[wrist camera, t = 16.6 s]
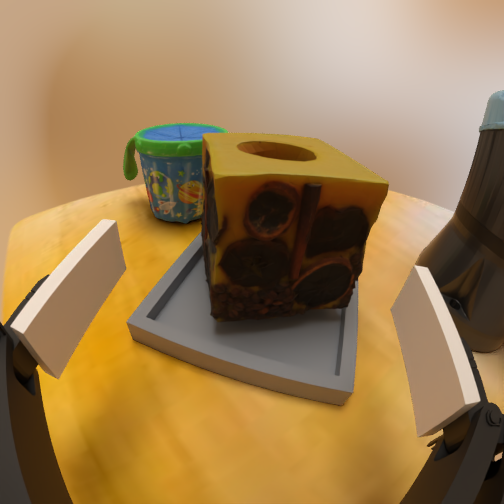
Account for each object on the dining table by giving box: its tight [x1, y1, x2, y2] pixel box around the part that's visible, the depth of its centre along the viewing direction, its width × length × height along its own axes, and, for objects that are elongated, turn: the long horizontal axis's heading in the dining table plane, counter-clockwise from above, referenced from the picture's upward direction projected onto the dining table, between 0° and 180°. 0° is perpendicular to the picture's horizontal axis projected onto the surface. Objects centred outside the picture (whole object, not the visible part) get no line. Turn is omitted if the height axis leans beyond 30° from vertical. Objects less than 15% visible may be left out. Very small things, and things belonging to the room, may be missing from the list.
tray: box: [127, 233, 358, 406], centre depth 22 cm, size 15×15×2 cm
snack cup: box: [123, 123, 228, 223], centre depth 31 cm, size 16×10×10 cm
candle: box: [201, 133, 389, 322], centre depth 19 cm, size 10×10×10 cm
